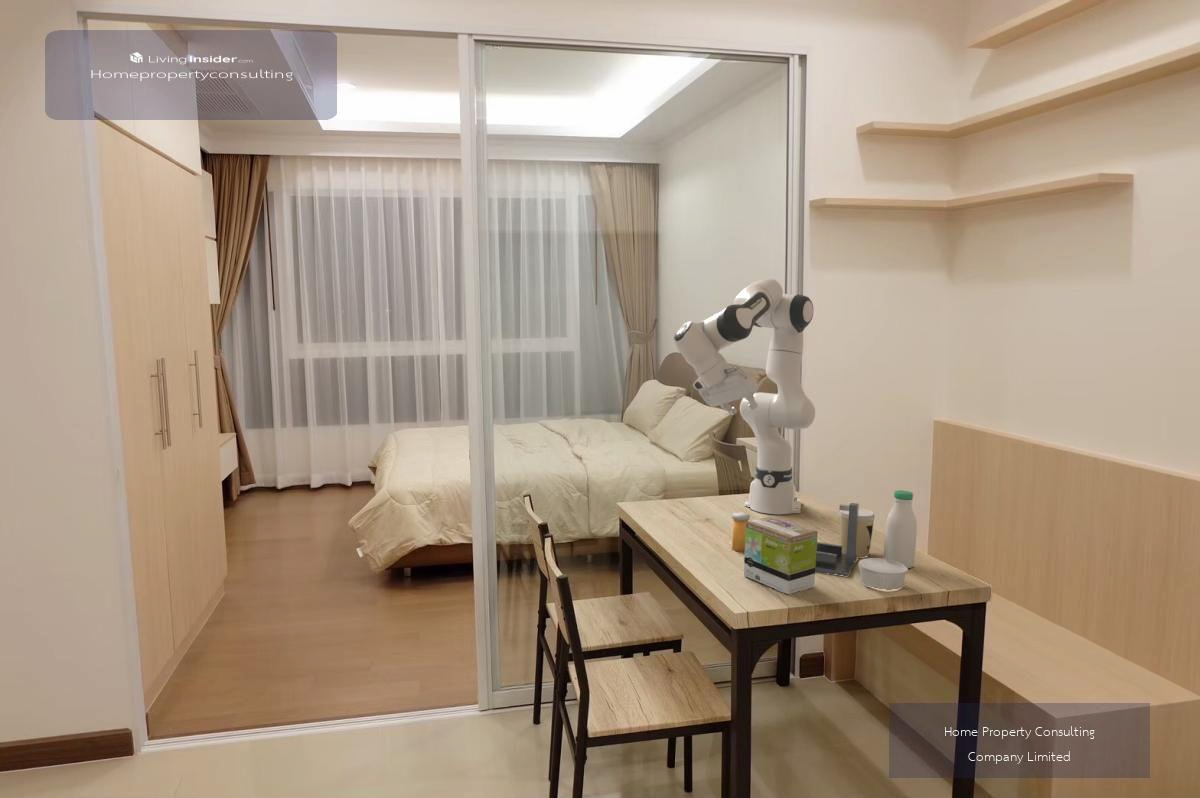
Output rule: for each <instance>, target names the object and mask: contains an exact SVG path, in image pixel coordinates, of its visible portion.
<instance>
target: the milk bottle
mask: <svg viewBox="0 0 1200 798" xmlns="http://www.w3.org/2000/svg"><path fill="white" fill-rule="evenodd" d="M893 492H894V493H893V497H894V498H893V500H894V503H893V505H892V508H891V510H890V511H889V514H888V516H887V518H886V522H885V533H884V545H883V559H888V560H892V561H896V562H899V563H901V564H903V565H904V566H906V567H907V568H911V567H913V568H914V567H915V560H916V559H915V557H916V547H917V545H916V544H917V533H918V532H917V531H918V529H917V528H918V526H917V517H916V515H915V513H914V510H913V507H912V502H913V499H914V493H913V492H911V491H909V490H895V491H893ZM911 569H912V568H911Z"/></svg>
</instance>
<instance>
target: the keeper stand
mask: <svg viewBox="0 0 1200 798" xmlns="http://www.w3.org/2000/svg"><path fill="white" fill-rule="evenodd" d="M859 505H860V504H859V503H855V502H850V503H849V504H845V503H840V505H839V511H840V510H844V511H849V521H848V537H847V553H846V554H843V553H842V547H843V546H840V544H832V543H826V542H822V541H821V542H820V541H817V551H816V567H815V571H816V572H815V573H821V572H822V573H821V574H827V573H829V574H828V575H832V574H837V575H836V576H838V575H843V576H842V577H844V576H848V577H849V575H850V573H851V571H852V570H851V569H853V568H854V566H855V564H856V562H857V559H858V558H857V556H856V542H857V527H858V511H859V508H860V506H859ZM855 561H856V562H855ZM852 567H853V568H852ZM850 570H851V571H850ZM849 572H850V573H849ZM848 574H849V575H848Z"/></svg>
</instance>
